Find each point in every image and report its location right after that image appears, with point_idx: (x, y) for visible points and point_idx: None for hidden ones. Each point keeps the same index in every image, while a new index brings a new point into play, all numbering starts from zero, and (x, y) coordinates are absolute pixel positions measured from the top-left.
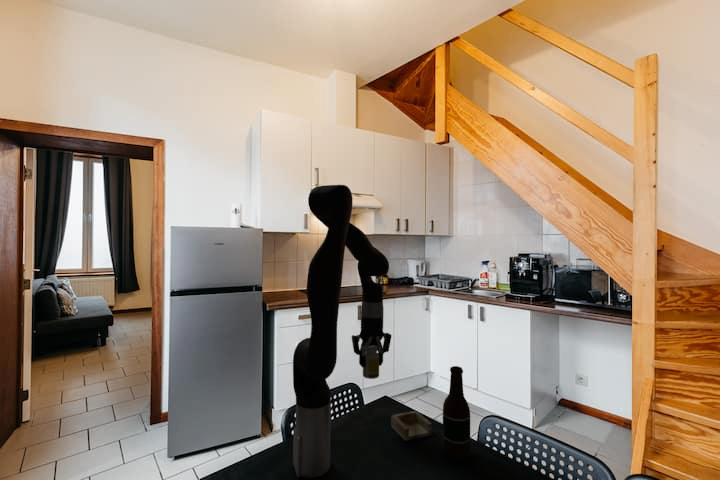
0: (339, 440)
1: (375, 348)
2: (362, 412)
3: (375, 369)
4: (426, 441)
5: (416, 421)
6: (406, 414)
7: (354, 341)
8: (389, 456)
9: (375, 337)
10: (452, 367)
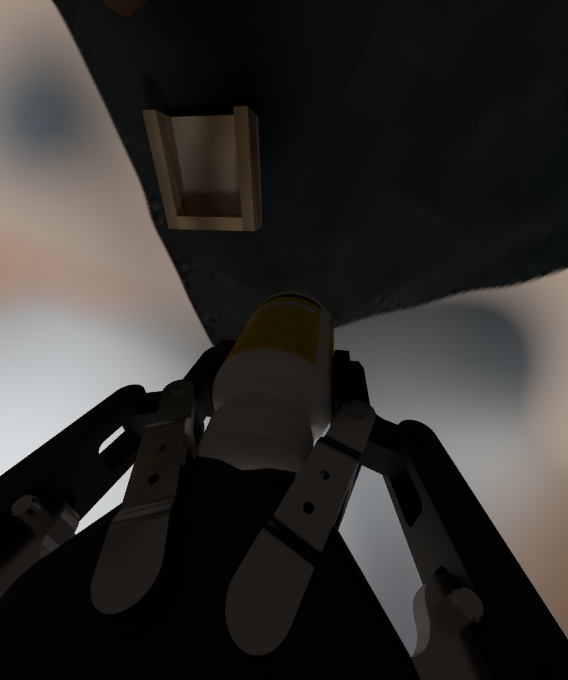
0: (443, 208)
1: (229, 425)
2: None
3: (277, 311)
4: (194, 83)
5: (186, 203)
6: (206, 216)
7: (548, 617)
8: (355, 22)
9: (163, 582)
10: None
